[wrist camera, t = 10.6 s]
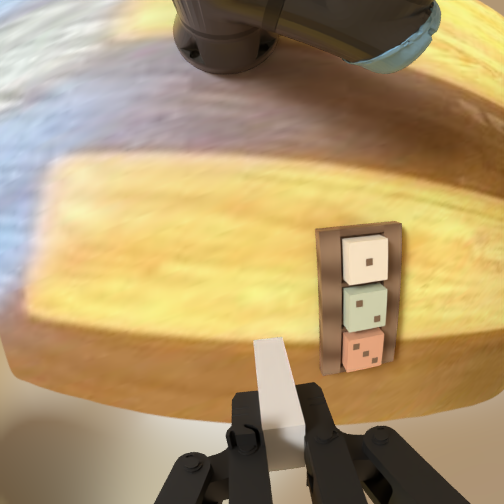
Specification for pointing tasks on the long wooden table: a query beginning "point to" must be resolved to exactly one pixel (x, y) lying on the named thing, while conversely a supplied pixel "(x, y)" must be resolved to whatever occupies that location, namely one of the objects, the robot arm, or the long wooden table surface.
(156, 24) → the long wooden table surface
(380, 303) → the button two sage
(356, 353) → the button three terracotta
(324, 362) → the brown wooden tray
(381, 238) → the button one cream
